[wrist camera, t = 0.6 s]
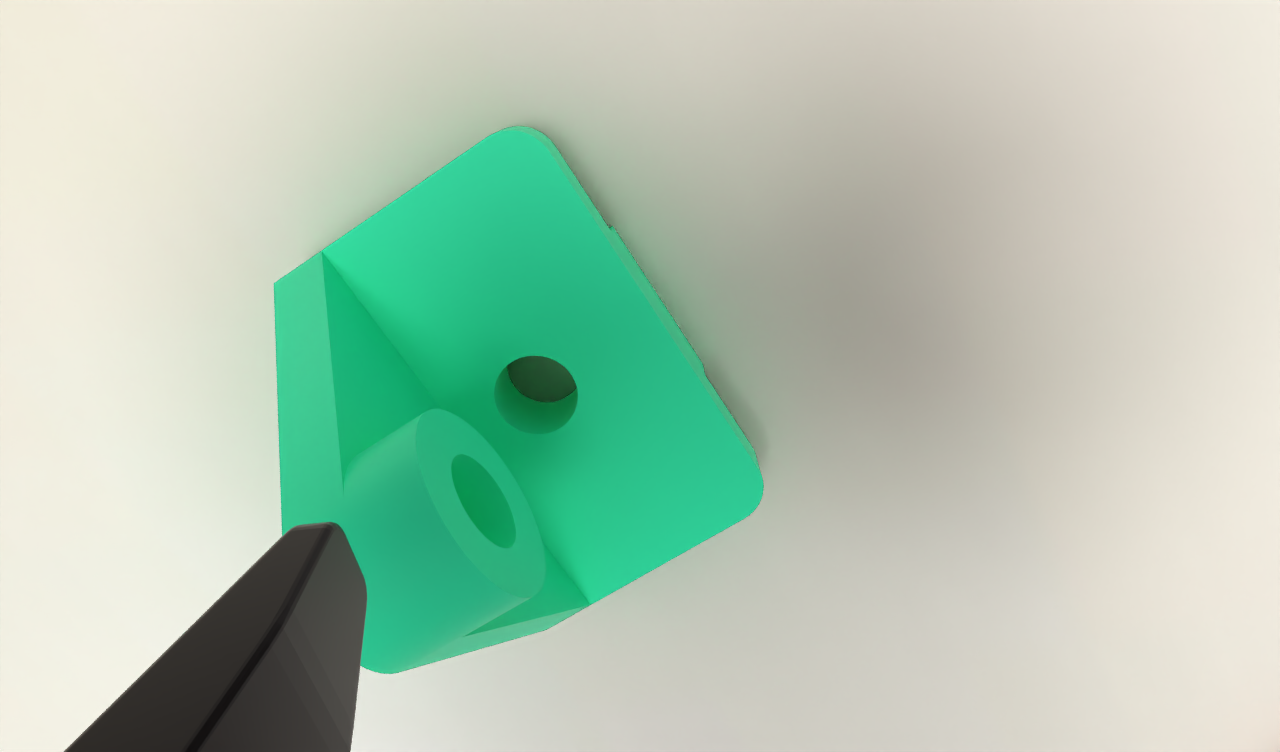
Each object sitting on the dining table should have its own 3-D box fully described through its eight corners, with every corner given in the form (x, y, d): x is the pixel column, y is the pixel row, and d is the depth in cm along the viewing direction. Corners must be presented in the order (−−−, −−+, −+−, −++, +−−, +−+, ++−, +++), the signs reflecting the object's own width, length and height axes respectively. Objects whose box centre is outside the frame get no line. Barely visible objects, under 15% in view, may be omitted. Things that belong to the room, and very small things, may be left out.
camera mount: (766, 460, 27) (833, 678, 18) (554, 580, 29) (509, 846, 19) (536, 107, 24) (462, 136, 14) (309, 262, 26) (104, 384, 16)
